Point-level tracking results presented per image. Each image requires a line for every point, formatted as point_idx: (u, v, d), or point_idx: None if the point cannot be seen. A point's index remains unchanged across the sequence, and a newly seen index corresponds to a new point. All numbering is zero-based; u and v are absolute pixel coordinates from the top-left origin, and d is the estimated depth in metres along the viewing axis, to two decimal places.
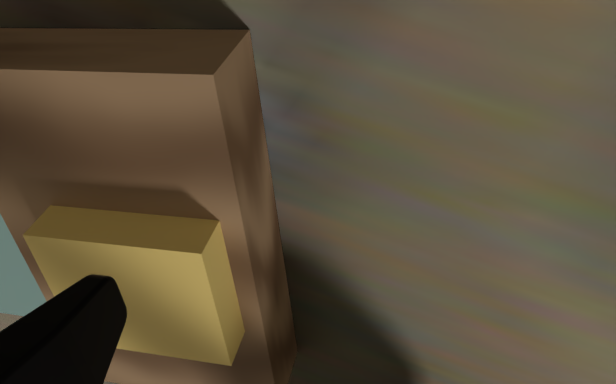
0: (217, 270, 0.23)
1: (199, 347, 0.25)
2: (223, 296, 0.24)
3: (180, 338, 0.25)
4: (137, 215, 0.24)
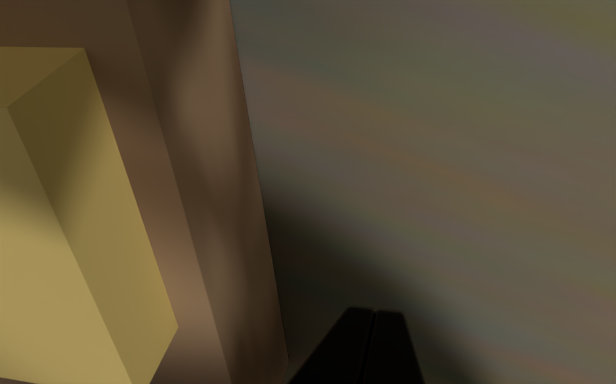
0: (83, 175, 0.09)
1: (66, 362, 0.12)
2: (107, 244, 0.10)
3: (23, 342, 0.12)
4: None
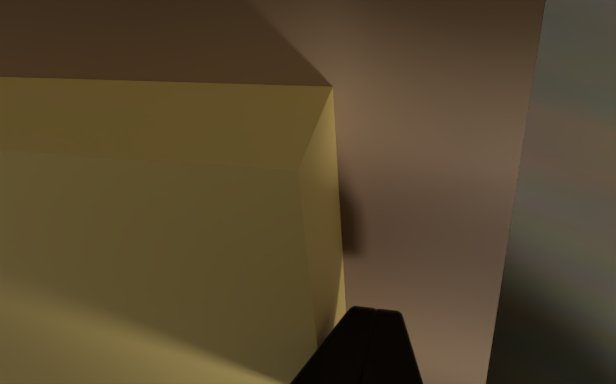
0: (324, 237, 0.08)
1: None
2: (329, 314, 0.09)
3: None
4: (89, 84, 0.08)
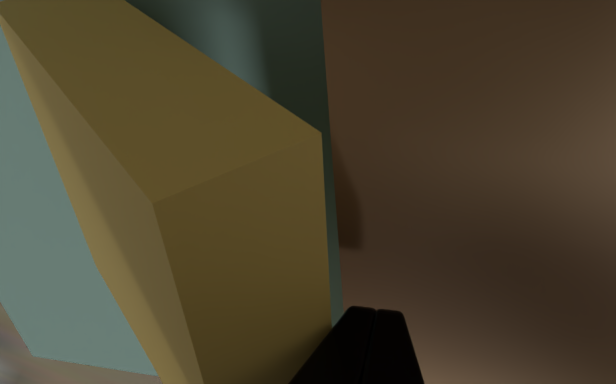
0: (255, 290, 0.07)
1: None
2: (262, 367, 0.08)
3: None
4: (173, 42, 0.09)
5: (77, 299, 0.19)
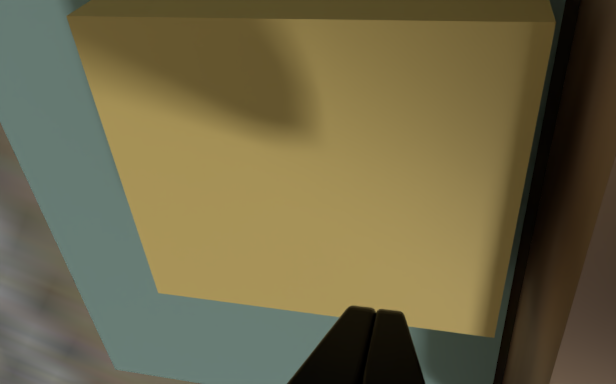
0: None
1: (432, 297, 0.12)
2: None
3: (393, 277, 0.12)
4: None
5: (177, 312, 0.18)
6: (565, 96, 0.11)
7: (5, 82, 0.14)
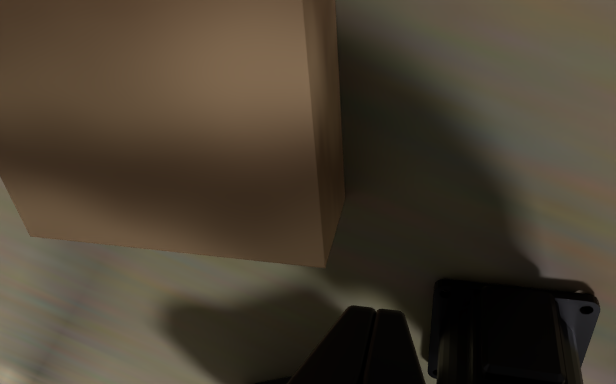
0: None
1: None
2: None
3: None
4: None
5: None
6: None
7: None
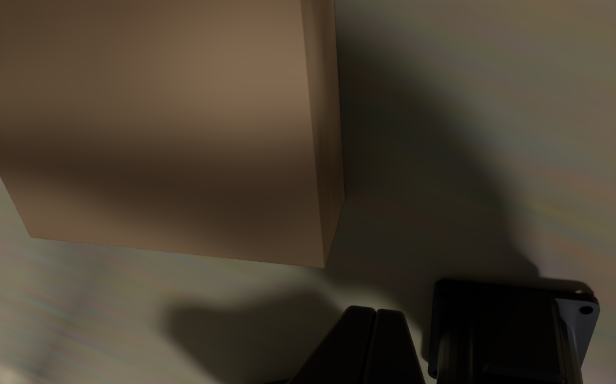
0: None
1: None
2: None
3: None
4: None
5: None
6: None
7: None
